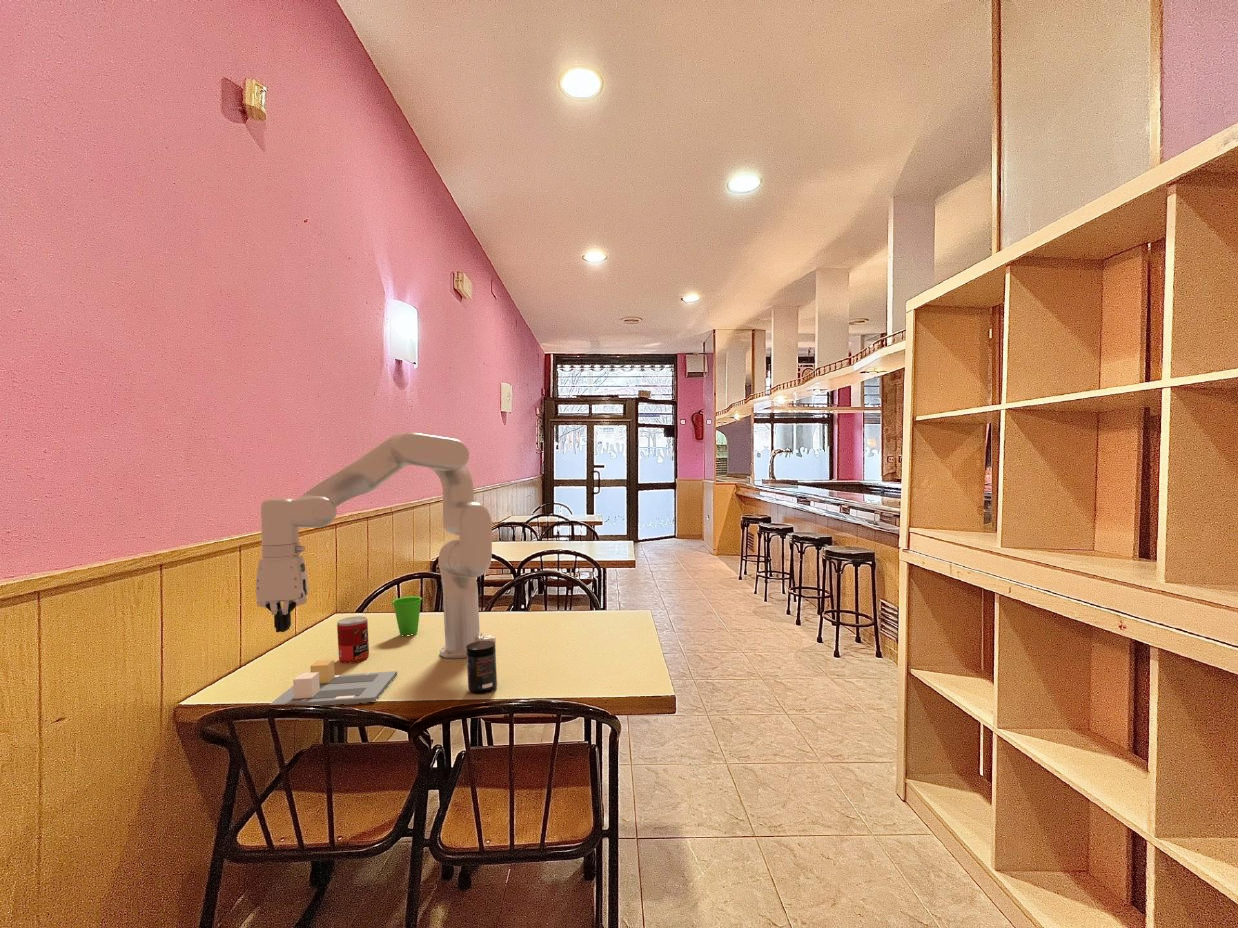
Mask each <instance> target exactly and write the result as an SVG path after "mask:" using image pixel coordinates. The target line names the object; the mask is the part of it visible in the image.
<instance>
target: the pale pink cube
mask: <svg viewBox="0 0 1238 928" xmlns="http://www.w3.org/2000/svg"><path fill="white" fill-rule="evenodd" d="M292 681H293V682H292V683H293V685H294V699H300V698H313V697H314V696H315V695H316V694H317V693H318V692H319V691H320V684H319V672H314V673H311V672H304V673H299V674H298V675H297V676H296V677H294V678H293V680H292ZM293 685H292V686H293Z"/></svg>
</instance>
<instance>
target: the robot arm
mask: <svg viewBox="0 0 1238 928" xmlns="http://www.w3.org/2000/svg"><path fill="white" fill-rule="evenodd" d="M469 459H470V451H469V448H468V447H467V445H466V444H465V443H464V442H462V441H461V440H459V439H456V438H450V437H443V436H438V435H430V434H426V433H425V434H424V433H419V432H404V433H397V434H394V435H392V436H390V437H389V438H387V439H385V440H384V441H383V442H381V443H379V444H378V445H376V446H375V447H374V448H373V449H371V450H370V451H369V452H367V453H365V454H364V455H362V456H361V457H359V458H358V459H356V460H355V461H353V462H352V463H351V464H349V465H347V466H345V467H344V468H341V470H339V471H338V472H336V473H334V474H332V475H330V476H329V477H327V478H325V479H324V480H322V481H321V482H319V483H317V484H316V485H315V486H313V487H312V488H310V489H309V490H307V491H306V492H304V493H303V494H301V495H300V496H299V497H298V498H297V499H295V498H288V497H287V498H283V497H282V498H269V499H268V498H267V499H264V501H262V503H261V506H260V520H261V521H260V522H261V556H262V557H261V558H259V560H258V564H257V570H256V579H255V597H256V599H257V602H256V606H258V607H260V608H266V609H267V610H268V611H269V612H271V615H272V616H273V619H274V620H273V621H274V622H273V623H274V629H275V633H280V632H281V633H285V632H286V631H288V630H290V628H291V625H292V617H291V616H292V614H291V613H292V612H293V611H294V610H295V608H296V607H299V606H302V605H305V604H306V603H307V602H308V599H307V596H308V594H309V580H308V579H309V578H308V570H307V566H306V561H305V558H304V555H300V554H301V552H302V553H304V552H305V551H306V546H304V545H301V543H300V535H299V529H300V528H315V529H316V528H318V529H319V528H324V527H327V526H329V525H330V524H332V522H333V521H334V520H335V518H336V517H337V514H338V513H337V510H338V507H339V506H340V505H341V504H344V503H345V502H347V501H348V500H351V499H353V498H356V497H359V496H363V495H366V494H368V493H370V492H372V491H374V490H376V489H377V488H379V487H380V486H382V485H383V484H385V482H386V481H388V480H390V479H391V478H392V477H394V476H395V475H396V474H398V473H399V472H400V471H401V470H403V469H404V468H406V467H408V466H417V467H424V468H428V469H430V470H432V471H433V472H434V473H435V474H436V476H437V477H438V478H439V481H440V483H441V484H440V485H441V488H442V524H443V528H444V529H445V530H446V532H448V533H449V534H452V535H454V536H458V537H459V539H452V540H449V541H448V542H446V543H444V544H443V545H442V546H441V548H440V550H439V554H438V558H437V559H438V567H439V572H440V577H441V584H442V598H443V599H442V602H443V603H442V605H443V623H444V624H443V625H444V627H443V628H444V640H445V642H444V643H445V645H444V646H442V647H441V648H440V649H439V655H440V656H441V657H443V658H446V659H447V658H448V659H461V658H462V659H463V658H464V659H465V658H467V654H466V646H467V645H468V644H470V643H473V642H478V641H492V642H495V644H497V643H496V641H497V639H496V636H493V635H487V636H485V635H483V631H480V615H479V613H480V612H479V610H480V609H479V591H478V590H479V589H478V588H479V587H478V581H477V578H479V577H481V576H483V575H485V573H487V572H488V571H489V569H490V567H491V563H492V559H493V558H492V556H493V534H492V533H493V526H492V516H491V515H490V512H489V511H488V509H487V507H485V505H483V504H481V503H479V502H475V497H474V496H475V495H474V482H473V476H472V474H471V471H470V470H469V468H468V467H467V463H469V462H468V461H469Z"/></svg>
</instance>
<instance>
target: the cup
mask: <svg viewBox="0 0 1238 928" xmlns="http://www.w3.org/2000/svg"><path fill="white" fill-rule="evenodd" d="M422 600H423V598H422V597H421V596H403V597H399V598H395V599H393V600H392V601H391V603H392V604H393V609H394V614H395V618H396V622H397V627H398V632H399V634H400V636H401V635H403V636H407V635H411V634H416V633H418V631H419V630H418V629H419V623H420V621H419V620H420V612H421V611H420V610H421V603H422ZM416 635H417V634H416ZM403 636H402V637H403ZM407 637H408V636H407Z"/></svg>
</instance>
